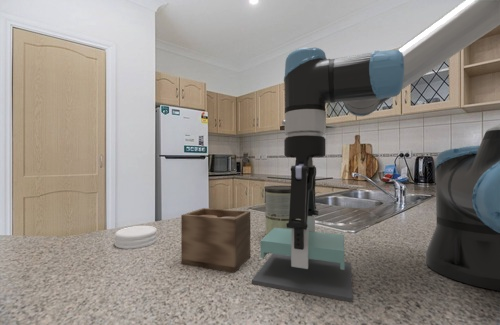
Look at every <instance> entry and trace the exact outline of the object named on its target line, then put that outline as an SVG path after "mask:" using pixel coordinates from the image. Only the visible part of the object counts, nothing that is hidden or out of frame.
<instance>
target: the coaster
mask: <svg viewBox="0 0 500 325" xmlns="http://www.w3.org/2000/svg"><path fill="white" fill-rule="evenodd" d="M157 232H158V229H157V228H156V227H155V226H152V225H135V226H134V225H132V226H129V227H125V228H121V229H118V230H117V231H116V232H115V234H114V237H115V238H114V245H115V247H116V248H118V249H121V248H122V250H123V249H124V250H133V249H135V250H136V249H140V248H141V249H142V248H144V247H145V248H146V247H149V246H151V245H154V244H155V243H156V242H157V241H158V237H157V236H158V233H157Z"/></svg>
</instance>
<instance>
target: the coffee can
mask: <svg viewBox="0 0 500 325" xmlns="http://www.w3.org/2000/svg"><path fill="white" fill-rule="evenodd" d="M264 192H265V193H264V196H265V197H264V198H265V206H264V208H265V236H266V235H267V234H268V233H269V232H270V231H272V230H273V229H274V228H282V229H291V228H287V226H286V224H287V223H288V222H289V211H290V193H291V185H268V186H265V187H264ZM296 220H301V219H296ZM265 236H264V237H265Z"/></svg>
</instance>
